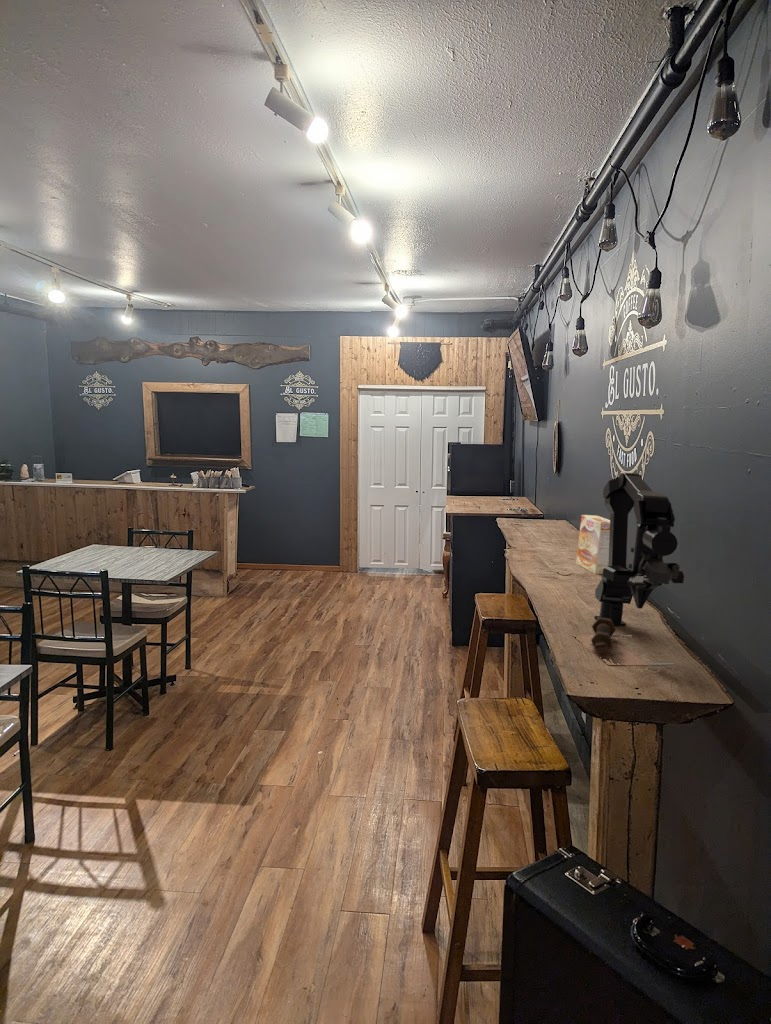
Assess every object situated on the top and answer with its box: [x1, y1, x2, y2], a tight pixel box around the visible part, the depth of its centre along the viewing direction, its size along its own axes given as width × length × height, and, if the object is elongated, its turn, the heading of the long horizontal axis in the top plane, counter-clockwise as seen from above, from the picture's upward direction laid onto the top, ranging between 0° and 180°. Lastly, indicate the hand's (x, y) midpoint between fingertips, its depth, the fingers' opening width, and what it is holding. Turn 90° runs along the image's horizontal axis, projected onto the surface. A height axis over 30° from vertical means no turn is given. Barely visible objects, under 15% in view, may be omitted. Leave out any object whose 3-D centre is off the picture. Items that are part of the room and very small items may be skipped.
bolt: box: [591, 617, 616, 654], centre depth 157 cm, size 6×5×15 cm
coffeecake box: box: [575, 514, 610, 575], centre depth 235 cm, size 15×7×20 cm, turn 10°
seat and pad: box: [578, 634, 676, 666], centre depth 155 cm, size 19×17×1 cm
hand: (639, 608), depth 154 cm, fingers closed
